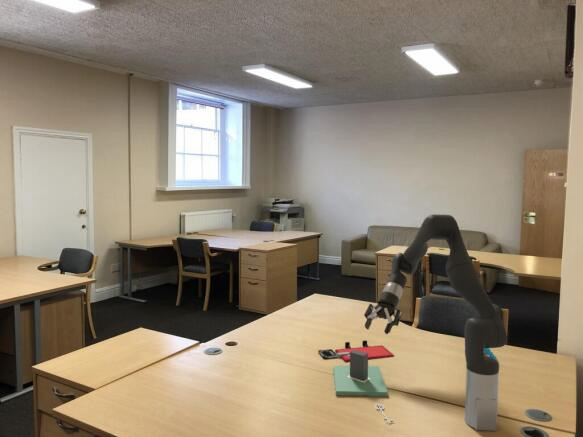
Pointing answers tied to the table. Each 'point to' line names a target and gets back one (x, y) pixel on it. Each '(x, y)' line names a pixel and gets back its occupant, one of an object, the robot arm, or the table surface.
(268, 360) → the table surface
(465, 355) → the robot arm
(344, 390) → the header board
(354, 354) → the block
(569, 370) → the table surface
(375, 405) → the key
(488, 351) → the gear
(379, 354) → the red board with handle
